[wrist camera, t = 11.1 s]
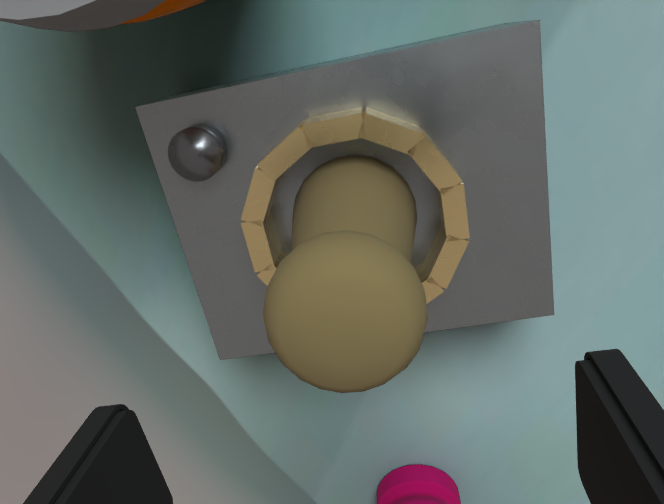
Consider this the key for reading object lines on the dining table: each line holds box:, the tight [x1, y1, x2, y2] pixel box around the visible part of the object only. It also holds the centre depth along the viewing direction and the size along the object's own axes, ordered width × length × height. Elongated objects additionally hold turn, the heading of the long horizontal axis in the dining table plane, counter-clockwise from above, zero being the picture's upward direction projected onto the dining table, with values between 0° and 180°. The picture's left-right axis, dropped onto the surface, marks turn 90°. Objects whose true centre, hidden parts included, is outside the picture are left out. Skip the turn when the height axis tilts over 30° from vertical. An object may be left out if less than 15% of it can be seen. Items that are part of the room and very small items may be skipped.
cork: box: [263, 155, 428, 393], centre depth 20 cm, size 6×6×11 cm
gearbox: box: [135, 20, 554, 360], centre depth 27 cm, size 14×18×8 cm
